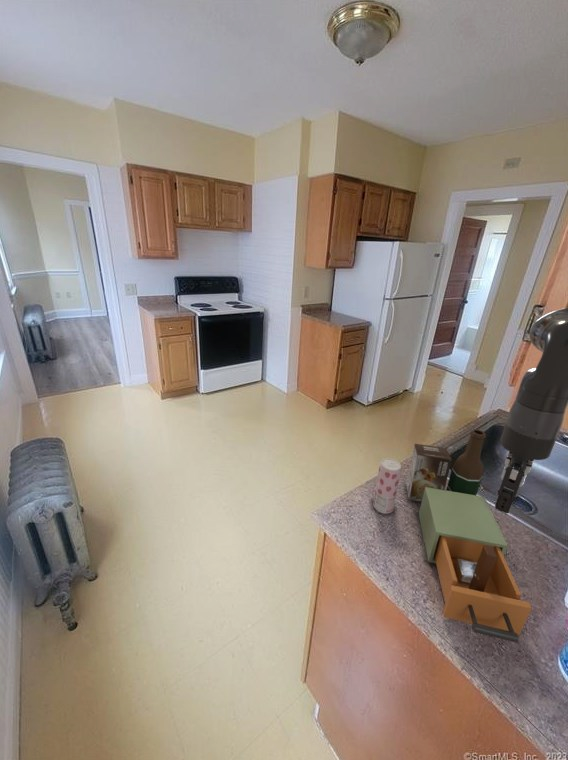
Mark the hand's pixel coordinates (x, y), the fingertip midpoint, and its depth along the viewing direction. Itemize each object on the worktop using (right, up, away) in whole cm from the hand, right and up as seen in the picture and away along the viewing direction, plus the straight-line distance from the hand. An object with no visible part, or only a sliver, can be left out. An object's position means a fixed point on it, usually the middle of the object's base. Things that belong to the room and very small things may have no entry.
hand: (505, 498), depth 63 cm
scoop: (-3, -21, +6) cm, 22 cm away
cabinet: (0, -18, +19) cm, 26 cm away
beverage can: (-15, -14, +30) cm, 36 cm away
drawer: (-4, -23, +4) cm, 24 cm away
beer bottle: (+8, -13, +32) cm, 36 cm away
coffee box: (-2, -12, +34) cm, 36 cm away
